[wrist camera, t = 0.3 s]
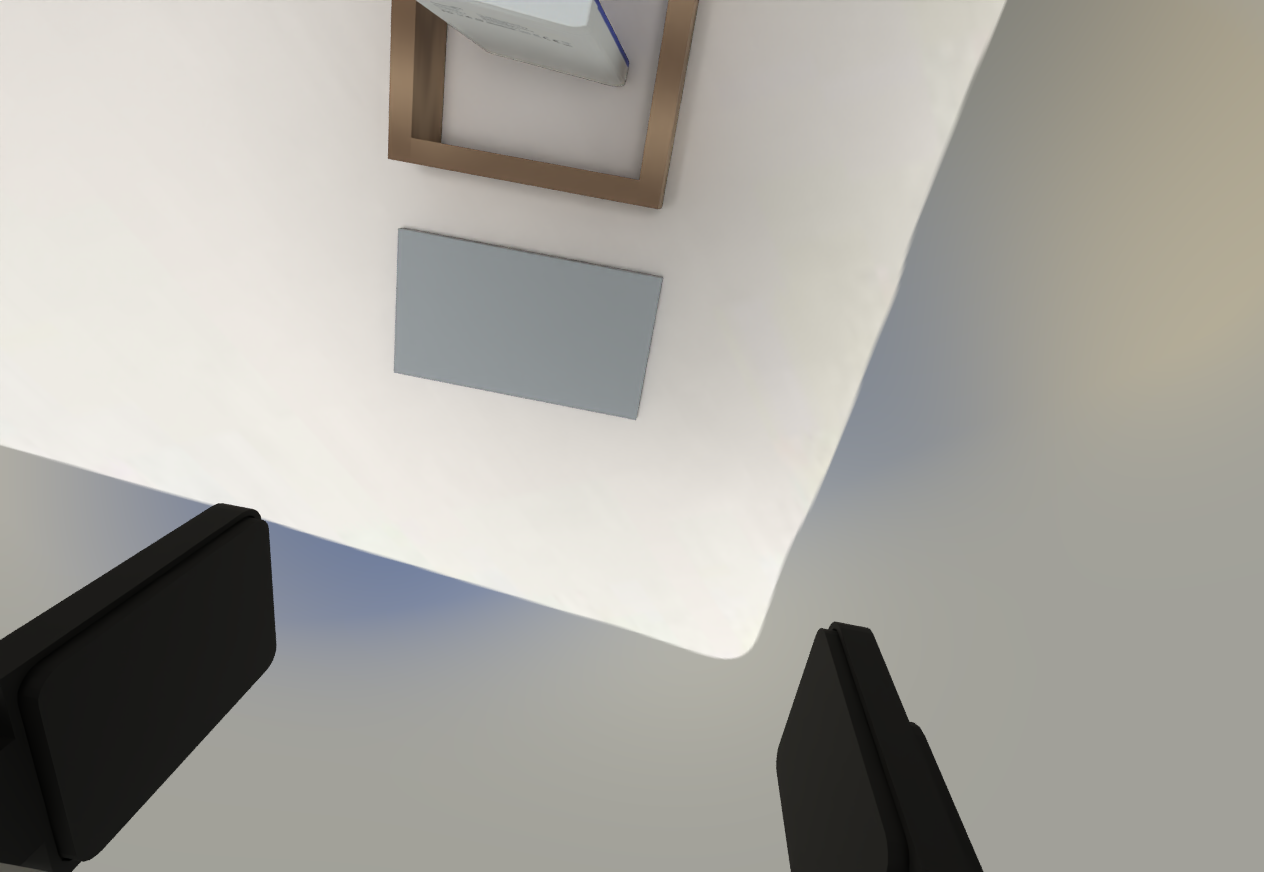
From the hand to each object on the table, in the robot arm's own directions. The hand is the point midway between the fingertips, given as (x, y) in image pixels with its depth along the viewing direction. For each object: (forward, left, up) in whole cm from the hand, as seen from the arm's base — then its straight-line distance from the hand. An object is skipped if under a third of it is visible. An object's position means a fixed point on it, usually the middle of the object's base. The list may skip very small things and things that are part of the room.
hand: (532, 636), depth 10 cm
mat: (+2, -8, -30) cm, 31 cm away
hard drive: (-13, -8, -30) cm, 34 cm away
